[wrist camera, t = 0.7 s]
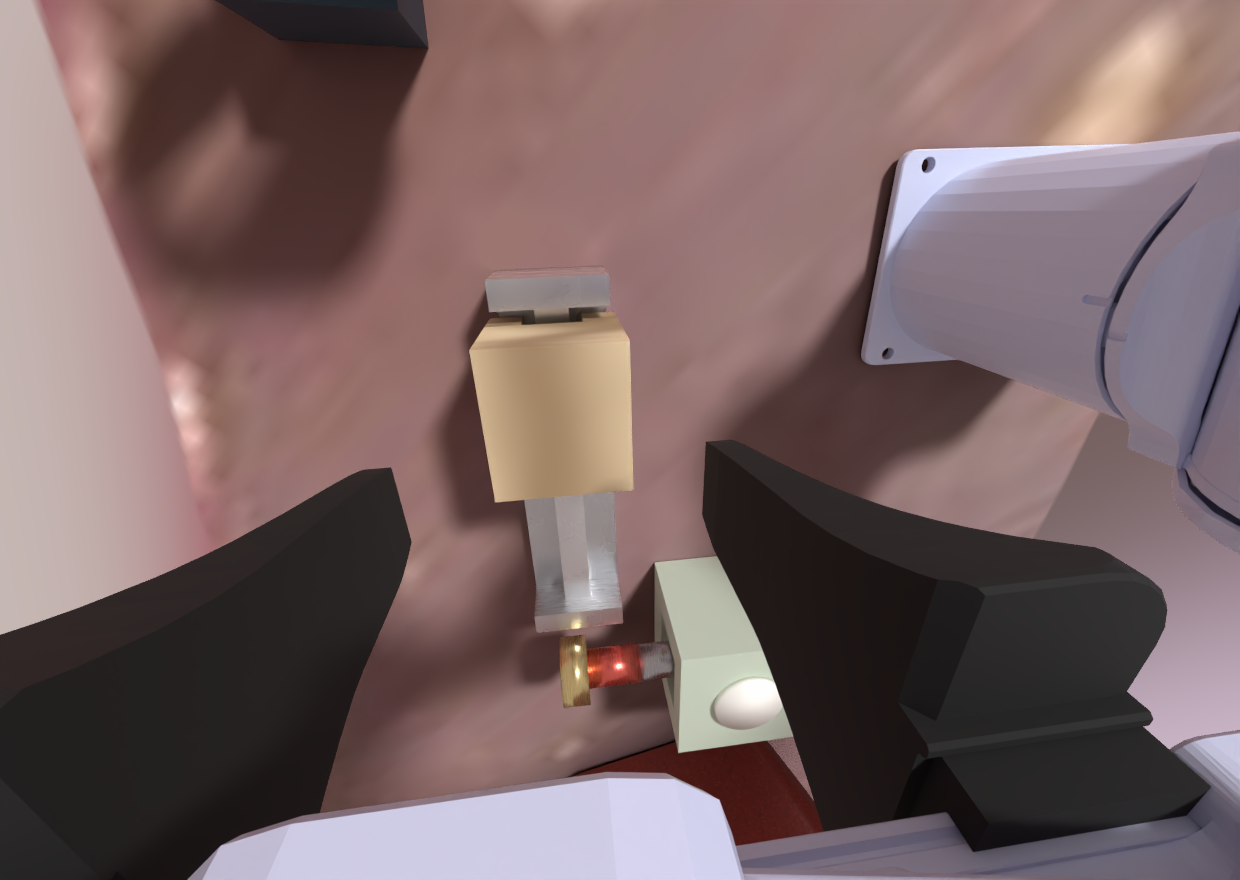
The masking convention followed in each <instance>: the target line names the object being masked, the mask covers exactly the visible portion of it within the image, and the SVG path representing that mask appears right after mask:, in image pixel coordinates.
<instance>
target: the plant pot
mask: <svg viewBox="0 0 1240 880" xmlns="http://www.w3.org/2000/svg"><path fill="white" fill-rule="evenodd" d="M603 772H635V773H666V774H669V775H671V776H673V777H675V778H677V779H679V780H681V781H683V782H686V783H688V784H690V785H692V786H694V787H696V788H698V789H701V790H703V791H705V792H707V793H708V794H710V795H712V796H713V797H715V798H717V799H719V800H720V803H721V806H722V808H723V811H724V813H725V816H726V819H727V821H728V824H729V827H730V829H731V832H732V835H733V839H734V843H735V846H739V845H746V844H752V843H758V842H764V841H770V840H776V839H783V838H789V837H795V836H801V835H807V834H814V833H820V832H823V828H822V825H821V822H820V818H819V815H818V812H817V808H816V805H815V802H814V801H813V799H812V798H811V797H810V795H809V794H808V793H807V791H806V790H805V789H804V787H803V786H802V785H801V783H800V782H799V781H798V780H797V778H796V777H795V776H794V774H793V773H792V772H791V770H790V769H789V768H788V767H787V765H786V764H785V763H784V762H783V760H782V759H781V758H780V756H779V755H778V754H777V753H776V751H775V750H774V749H773V748H772V746H771V745H770V744H769V743H768V742H767V741H760V742H752V743H745V744H738V745H731V746H724V747H717V748H710V749H702V750H695V751H688V752H681V753H678V749H677V744H676V742H674V743H671V744H668V745H665V746H662V747H659V748H656V749H653V750H650V751H647V752H644V753H641V754H638V755H635V756H632V757H629V758H626V759H623V760H620V761H616V762H613V763H610V764H607V765H604V766H601V767H598V768H595V769H592V770H589V771H586V772H583V773H580V774H577V775H576V776H583V775H590V774H596V773H603ZM576 776H574V777H576Z"/></svg>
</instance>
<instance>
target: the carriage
mask: <svg viewBox="0 0 1240 880" xmlns="http://www.w3.org/2000/svg"><path fill="white" fill-rule="evenodd" d="M581 318H582V322H568V323H550V324H532V325H525V324H524V316H523V317H505V318H490V319H489V321H488V322H487V324H486V325H485V327H484V328H483V330H482V331H481V333H480V335H479V336H478V338H477V339H476V341H475V342H474V344H473V345H472V347H471V348H470V350H469V352H470V358H471V364H472V370H473V376H474V381H475V387H476V393H477V399H478V405H479V410H480V416H481V422H482V428H483V434H484V440H485V445H486V451H487V457H488V463H489V469H490V474H491V480H492V486H493V492H494V498H495V502H506V501H517V500H528V499H540V498H551V497H562V496H573V495H585V494H596V493H607V492H618V491H630V490H633V457H632V415H631V372H630V340H629V338H628V337H627V335H626V333H625V331H624V329H623V328H622V326H621V324H620V322H619V320H618V319H617V317H616V315H615V313H614V312H597V313H581Z"/></svg>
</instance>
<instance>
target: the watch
mask: <svg viewBox="0 0 1240 880" xmlns="http://www.w3.org/2000/svg"><path fill="white" fill-rule="evenodd" d="M216 1H218V2H220V3H221V4H223V5H224V6H226V7H228V8H229V9H231V10H232V11H234V12H236V13H237V14H239V15H241V16H242V17H244V18H245V19H247V20H249V21H250V22H252V23H253V24H255V25H257V26H258V27H260V28H261V29H263V30H265V31H266V32H268V33H270V34H271V35H273V36H274V37H276V38H278V39H280V40H296V41H313V42H329V43H346V44H362V45H379V46H396V47H412V48H428V40H427V32H426V24H425V15H424V7H423V0H216Z"/></svg>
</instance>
